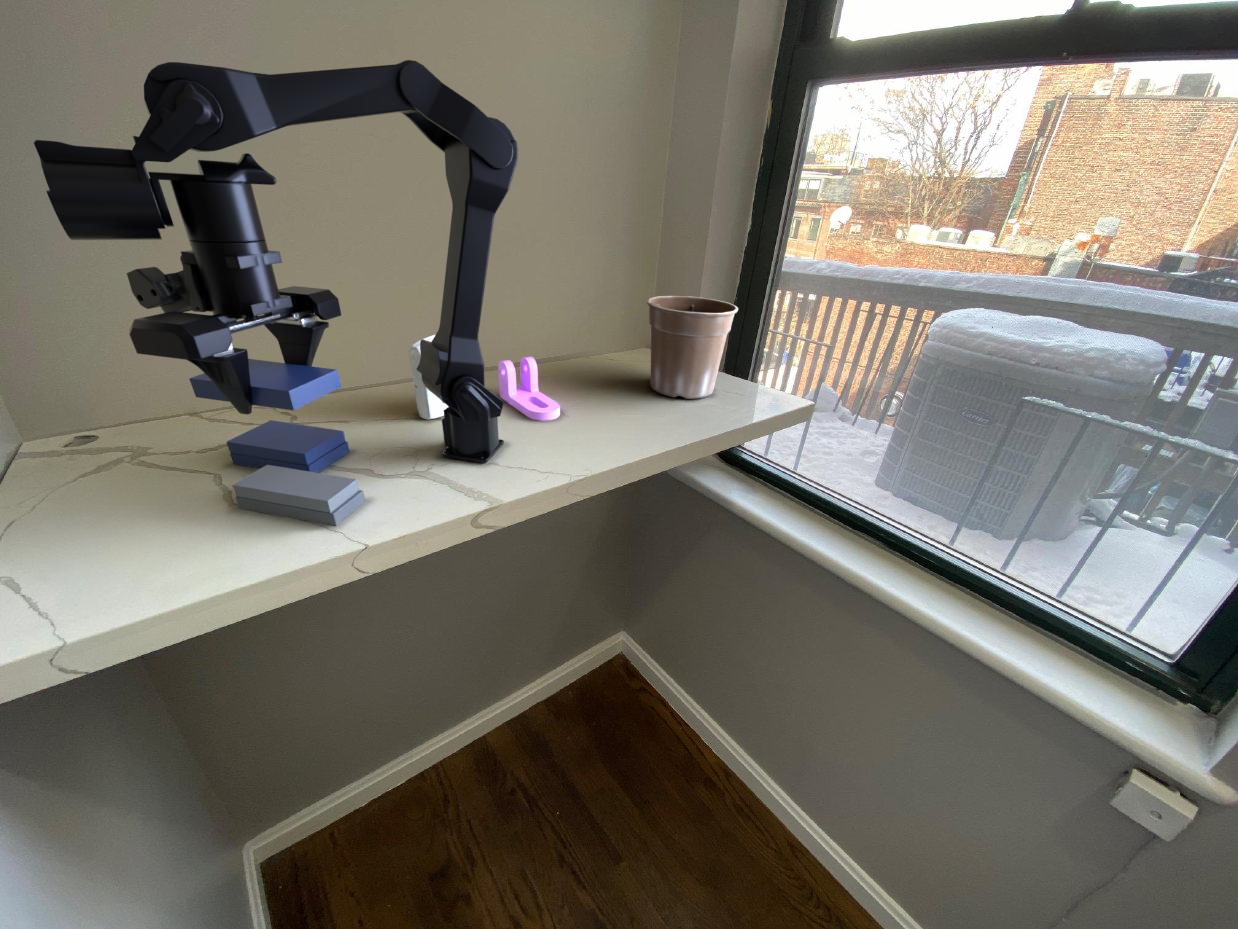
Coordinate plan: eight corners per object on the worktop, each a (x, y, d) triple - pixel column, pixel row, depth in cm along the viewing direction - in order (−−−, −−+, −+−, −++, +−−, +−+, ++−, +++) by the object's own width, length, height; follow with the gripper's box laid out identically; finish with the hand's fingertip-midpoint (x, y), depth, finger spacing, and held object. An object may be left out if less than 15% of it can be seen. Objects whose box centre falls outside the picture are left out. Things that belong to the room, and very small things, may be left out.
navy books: (350, 452, 69) (345, 430, 67) (311, 477, 62) (305, 454, 61) (277, 440, 70) (271, 419, 69) (233, 464, 64) (225, 441, 63)
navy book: (341, 387, 55) (337, 369, 54) (293, 410, 49) (288, 391, 48) (252, 375, 57) (247, 358, 56) (195, 397, 51) (188, 378, 50)
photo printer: (428, 422, 78) (417, 343, 72) (413, 414, 81) (401, 337, 75) (483, 405, 85) (478, 332, 79) (468, 398, 88) (461, 326, 82)
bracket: (499, 397, 89) (497, 358, 86) (528, 391, 92) (526, 354, 89) (536, 423, 80) (535, 381, 77) (566, 416, 84) (566, 375, 80)
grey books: (365, 501, 59) (361, 479, 57) (336, 525, 54) (330, 502, 53) (274, 486, 60) (267, 463, 59) (239, 508, 56) (230, 485, 55)
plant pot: (675, 370, 109) (684, 291, 101) (740, 391, 99) (755, 306, 91) (623, 385, 98) (628, 299, 90) (689, 411, 88) (702, 317, 81)
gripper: (236, 227, 55) (275, 366, 63) (33, 240, 39) (117, 425, 46) (329, 235, 54) (357, 376, 61) (157, 252, 38) (223, 441, 45)
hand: (274, 400), depth 53 cm, fingers closed on navy book, 7 cm apart
